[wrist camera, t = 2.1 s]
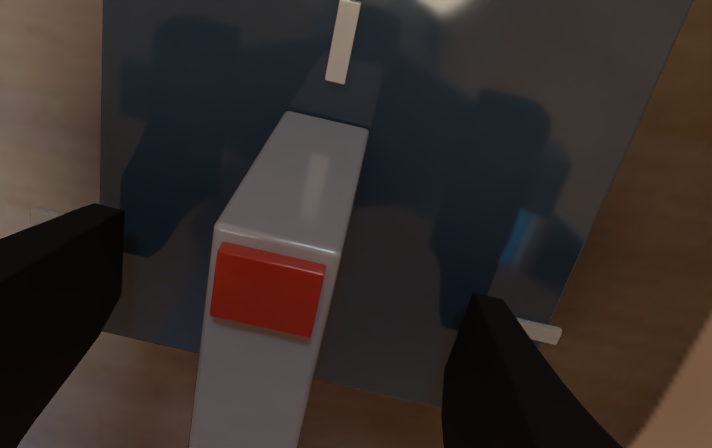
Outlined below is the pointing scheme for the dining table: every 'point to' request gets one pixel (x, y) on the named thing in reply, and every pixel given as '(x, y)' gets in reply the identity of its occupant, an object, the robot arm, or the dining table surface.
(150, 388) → the dining table surface
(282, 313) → the grey block
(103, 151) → the dark blue square slab
